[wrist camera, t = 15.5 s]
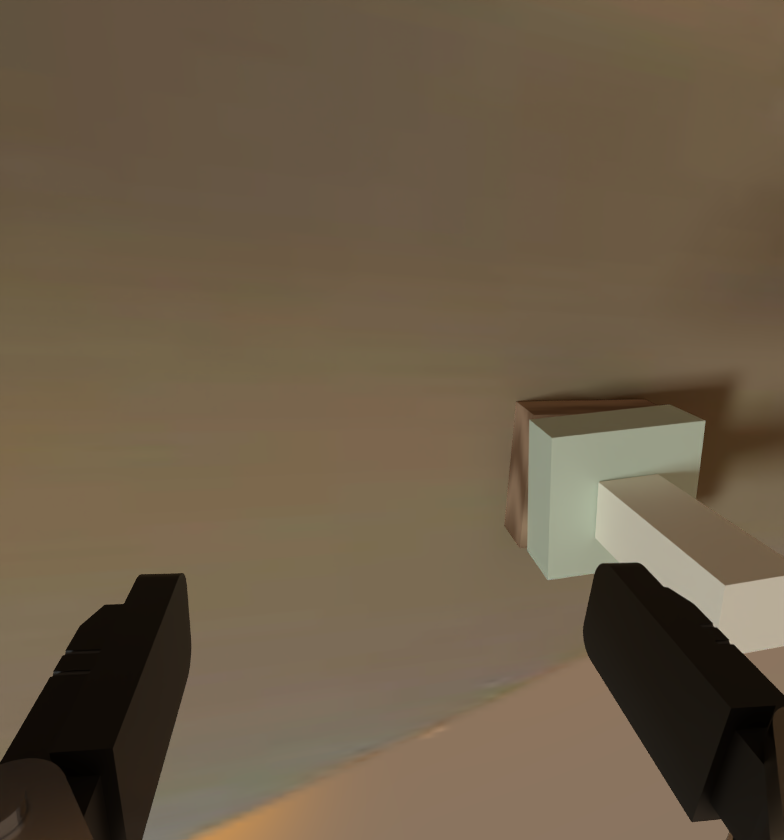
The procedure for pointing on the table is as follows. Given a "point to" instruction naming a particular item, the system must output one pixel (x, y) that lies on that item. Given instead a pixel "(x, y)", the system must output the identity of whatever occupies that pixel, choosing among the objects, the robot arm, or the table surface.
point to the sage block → (599, 475)
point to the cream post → (696, 557)
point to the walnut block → (520, 451)
